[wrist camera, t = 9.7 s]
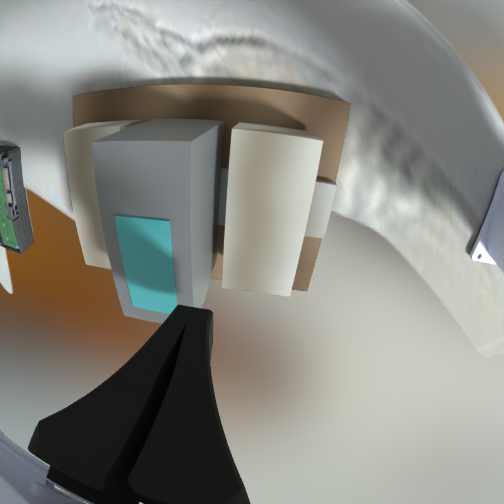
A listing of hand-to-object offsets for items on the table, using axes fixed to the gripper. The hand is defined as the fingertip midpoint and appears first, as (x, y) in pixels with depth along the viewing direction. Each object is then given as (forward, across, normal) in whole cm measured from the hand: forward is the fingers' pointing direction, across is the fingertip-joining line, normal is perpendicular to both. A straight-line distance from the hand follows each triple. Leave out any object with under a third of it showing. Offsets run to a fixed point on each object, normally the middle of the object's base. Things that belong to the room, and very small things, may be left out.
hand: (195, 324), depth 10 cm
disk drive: (+10, +27, -1) cm, 29 cm away
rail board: (+9, +3, -2) cm, 10 cm away
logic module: (+8, +3, -2) cm, 8 cm away
